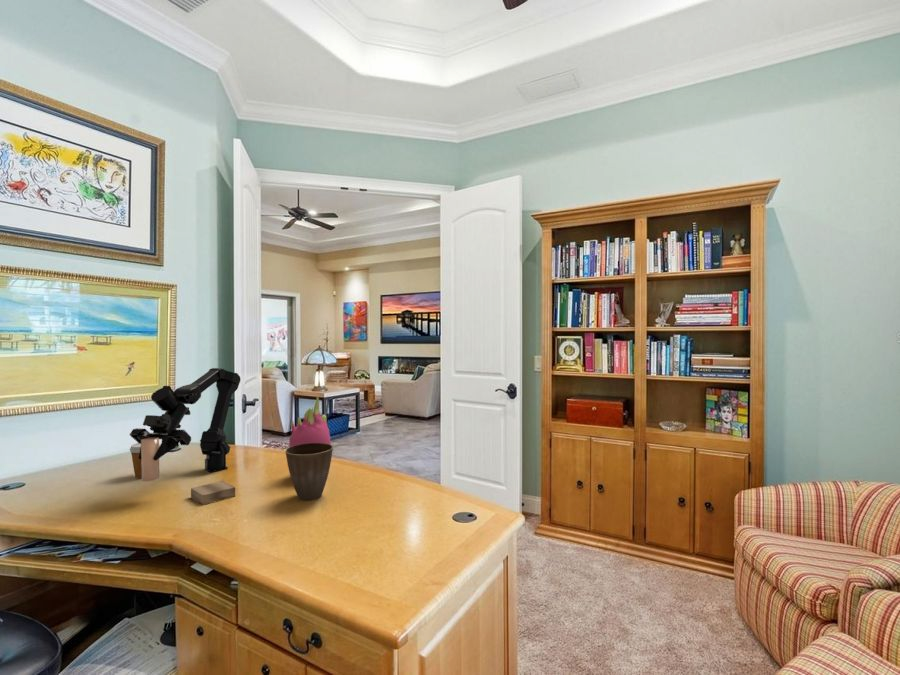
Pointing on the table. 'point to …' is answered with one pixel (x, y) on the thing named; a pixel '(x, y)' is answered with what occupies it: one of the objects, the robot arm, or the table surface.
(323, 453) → the plant pot
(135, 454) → the disposable coffee cup
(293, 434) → the pink dragon fruit
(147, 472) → the pillar
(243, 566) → the table surface
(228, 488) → the base
